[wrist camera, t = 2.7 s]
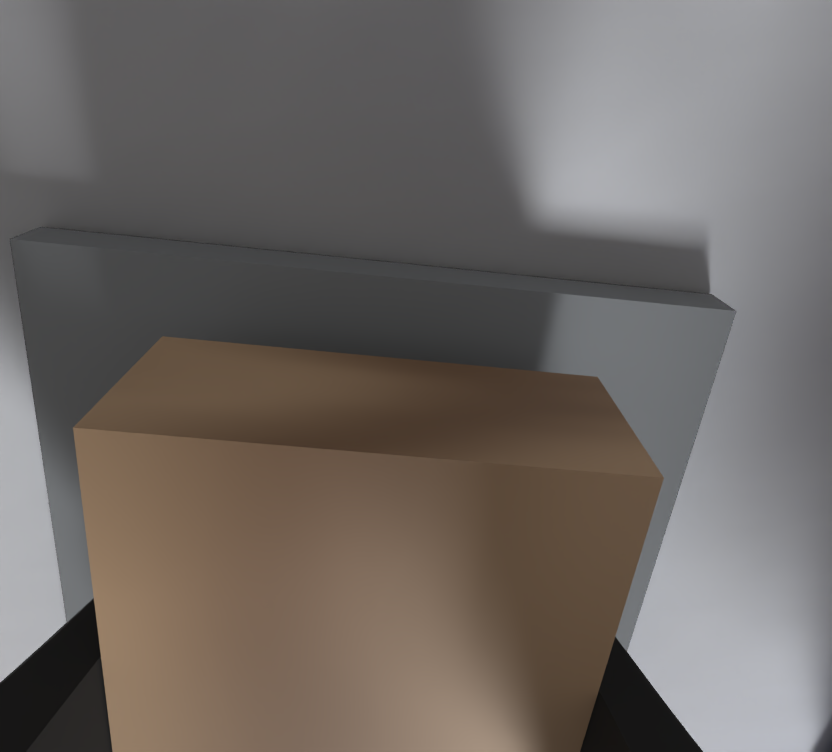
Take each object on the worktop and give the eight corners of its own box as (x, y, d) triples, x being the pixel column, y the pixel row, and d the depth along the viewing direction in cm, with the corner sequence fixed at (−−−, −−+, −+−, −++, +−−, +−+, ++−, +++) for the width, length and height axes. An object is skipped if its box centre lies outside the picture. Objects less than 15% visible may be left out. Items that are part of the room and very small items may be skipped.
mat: (712, 294, 10) (736, 311, 9) (577, 740, 14) (587, 775, 13) (40, 226, 9) (9, 239, 9) (102, 711, 13) (85, 747, 13)
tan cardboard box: (597, 376, 8) (664, 478, 6) (496, 797, 12) (516, 958, 10) (162, 336, 8) (72, 426, 6) (187, 780, 12) (135, 941, 9)
